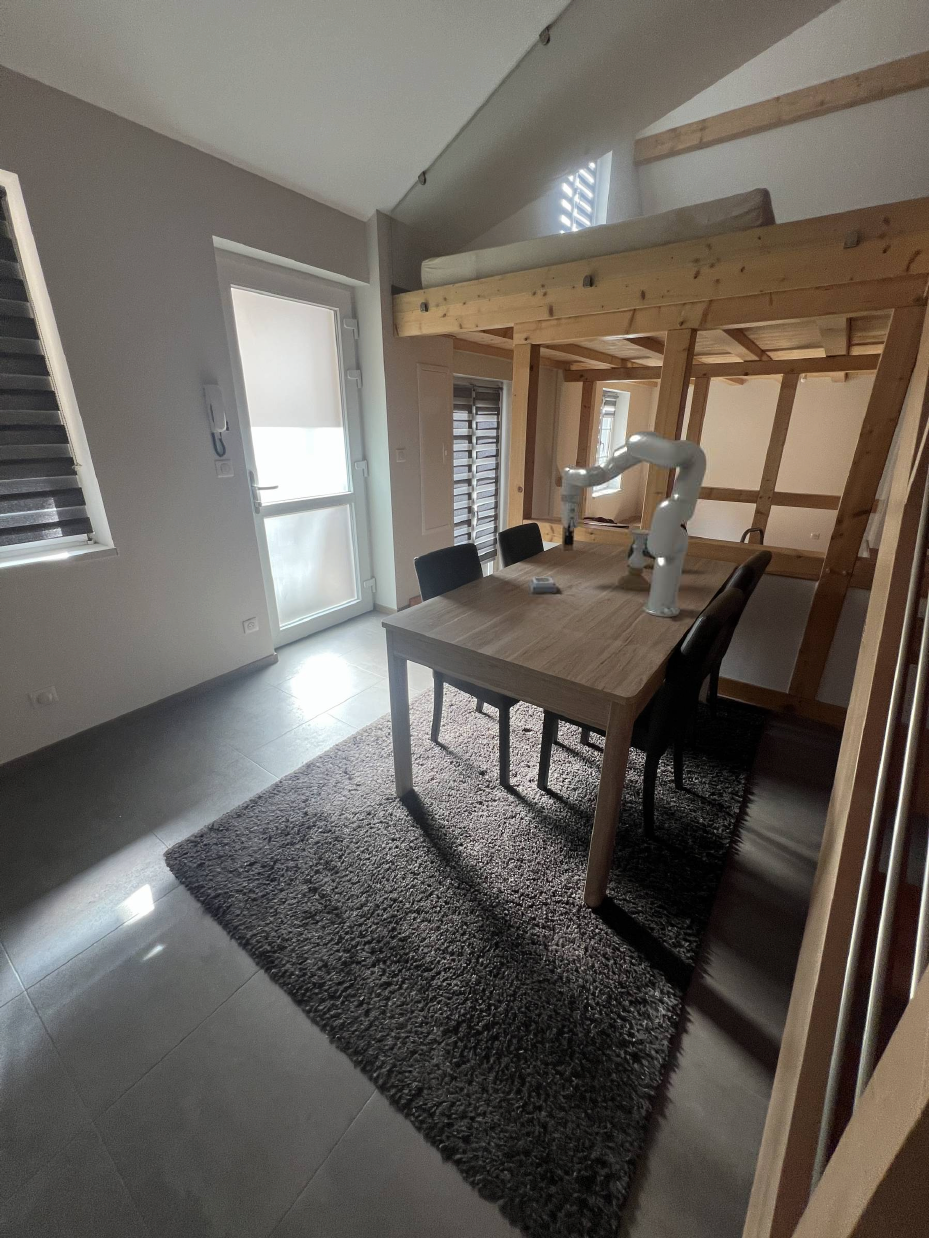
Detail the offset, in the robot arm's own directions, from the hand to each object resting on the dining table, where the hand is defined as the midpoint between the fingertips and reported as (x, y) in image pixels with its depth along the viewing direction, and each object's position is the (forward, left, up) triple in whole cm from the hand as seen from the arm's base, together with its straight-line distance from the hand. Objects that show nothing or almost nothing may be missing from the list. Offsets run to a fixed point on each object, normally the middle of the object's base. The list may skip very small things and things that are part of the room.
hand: (567, 543), depth 205 cm
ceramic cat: (+24, -45, -19) cm, 54 cm away
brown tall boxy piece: (0, 0, -3) cm, 3 cm away
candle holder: (-1, -30, -19) cm, 36 cm away
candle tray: (-5, +10, -19) cm, 22 cm away
